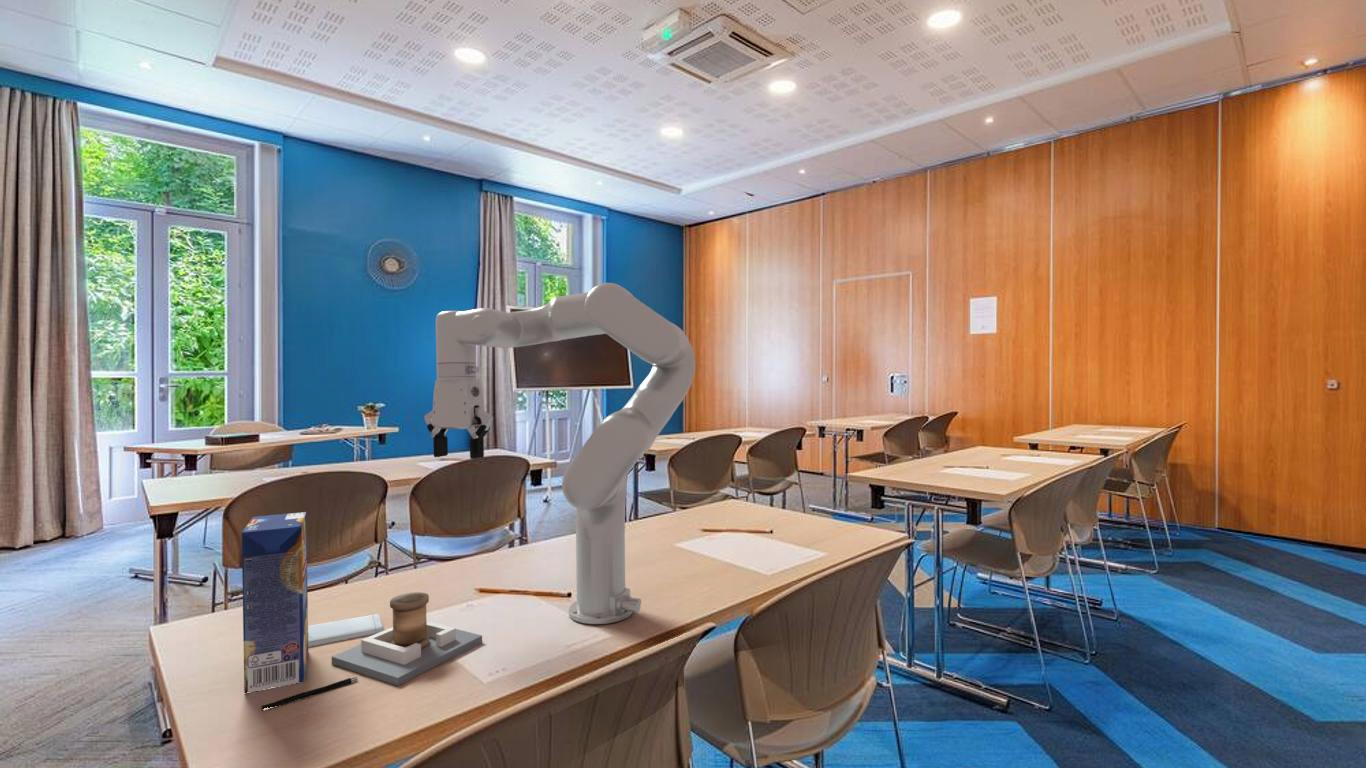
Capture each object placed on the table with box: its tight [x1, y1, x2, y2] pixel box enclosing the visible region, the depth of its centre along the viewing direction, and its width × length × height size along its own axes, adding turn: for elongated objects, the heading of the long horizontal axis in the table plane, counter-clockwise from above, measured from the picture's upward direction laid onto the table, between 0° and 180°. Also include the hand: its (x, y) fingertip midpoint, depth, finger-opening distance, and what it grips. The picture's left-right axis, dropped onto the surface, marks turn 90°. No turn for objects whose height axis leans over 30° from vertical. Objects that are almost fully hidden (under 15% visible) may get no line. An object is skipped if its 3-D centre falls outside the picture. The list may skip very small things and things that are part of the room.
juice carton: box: [241, 511, 309, 693], centre depth 97 cm, size 12×8×24 cm, turn 28°
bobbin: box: [389, 591, 430, 649], centre depth 104 cm, size 6×6×8 cm
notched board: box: [331, 620, 483, 686], centre depth 104 cm, size 16×17×3 cm
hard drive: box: [308, 613, 384, 648], centre depth 113 cm, size 2×8×12 cm
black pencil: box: [261, 676, 358, 710], centre depth 90 cm, size 12×1×1 cm, turn 133°
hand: (458, 457), depth 124 cm, fingers open, 9 cm apart
